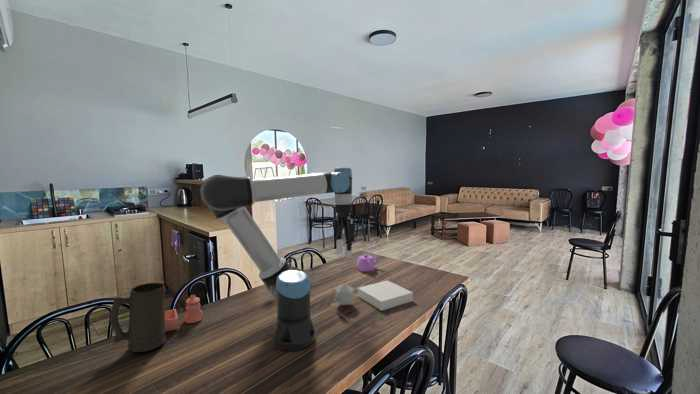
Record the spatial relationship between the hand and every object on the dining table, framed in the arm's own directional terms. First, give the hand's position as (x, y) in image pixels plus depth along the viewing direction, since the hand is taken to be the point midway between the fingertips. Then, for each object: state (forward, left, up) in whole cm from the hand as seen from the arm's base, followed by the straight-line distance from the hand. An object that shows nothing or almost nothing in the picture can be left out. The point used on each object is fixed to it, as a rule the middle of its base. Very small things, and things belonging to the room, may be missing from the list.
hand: (343, 255), depth 130 cm
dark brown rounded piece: (-16, +30, -22) cm, 41 cm away
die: (-1, -1, -22) cm, 22 cm away
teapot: (+36, +31, -22) cm, 53 cm away
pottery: (-64, +20, -22) cm, 70 cm away
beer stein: (-74, +9, -22) cm, 78 cm away
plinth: (+19, -5, -22) cm, 29 cm away
